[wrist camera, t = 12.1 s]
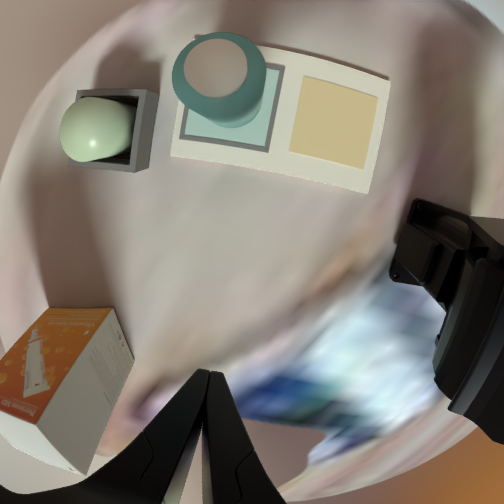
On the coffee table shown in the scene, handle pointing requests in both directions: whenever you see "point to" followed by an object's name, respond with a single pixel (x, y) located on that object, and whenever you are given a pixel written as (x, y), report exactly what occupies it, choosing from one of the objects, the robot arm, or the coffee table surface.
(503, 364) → the robot arm
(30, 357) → the small box
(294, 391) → the coffee table surface
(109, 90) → the frame
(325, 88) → the colouring sheet
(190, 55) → the teal marker
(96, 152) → the button
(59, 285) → the coffee table surface
